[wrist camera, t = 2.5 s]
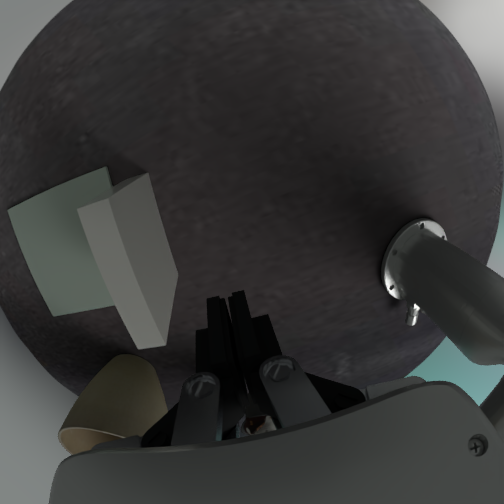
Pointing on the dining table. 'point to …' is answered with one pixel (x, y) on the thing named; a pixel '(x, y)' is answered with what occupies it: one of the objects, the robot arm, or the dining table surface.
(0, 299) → the dining table surface
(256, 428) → the sundae
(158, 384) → the plant pot
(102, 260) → the tile
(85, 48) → the dining table surface
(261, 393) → the robot arm
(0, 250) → the dining table surface
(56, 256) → the mat
